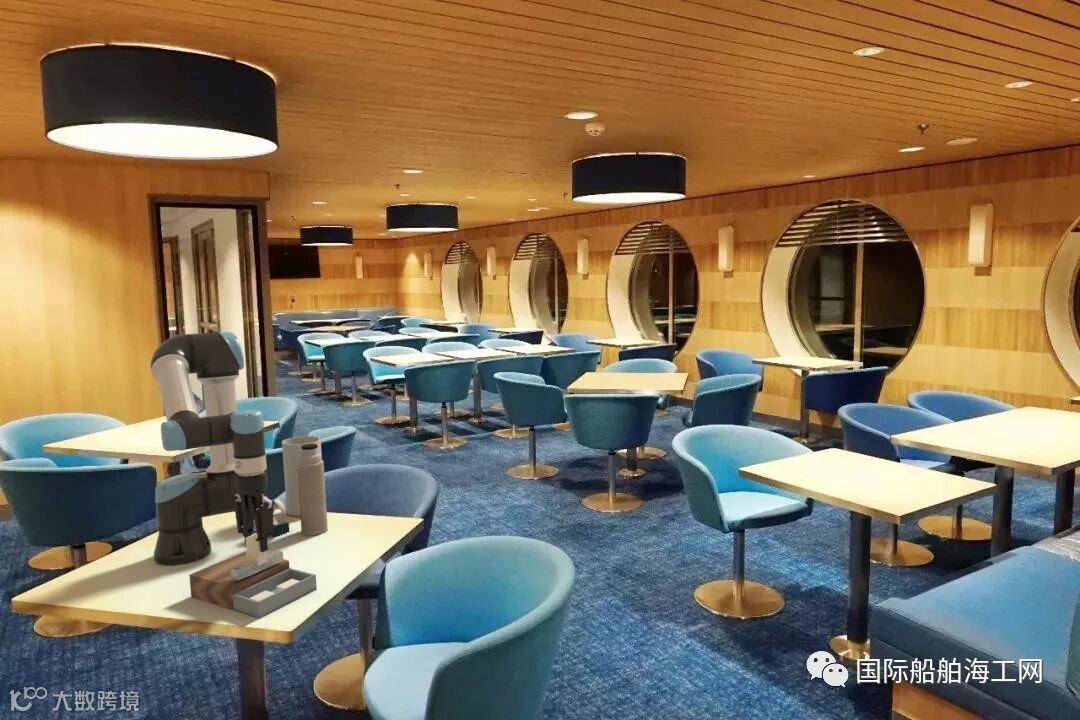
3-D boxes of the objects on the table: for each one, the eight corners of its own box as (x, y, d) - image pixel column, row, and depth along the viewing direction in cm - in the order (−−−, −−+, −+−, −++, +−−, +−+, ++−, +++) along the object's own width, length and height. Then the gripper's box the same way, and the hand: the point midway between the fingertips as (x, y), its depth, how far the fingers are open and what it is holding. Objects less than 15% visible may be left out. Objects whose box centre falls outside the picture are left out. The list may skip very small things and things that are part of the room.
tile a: (263, 602, 179) (263, 610, 180) (279, 594, 184) (280, 601, 184) (249, 598, 182) (249, 606, 182) (265, 590, 186) (266, 598, 186)
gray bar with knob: (230, 578, 184) (228, 551, 183) (276, 558, 196) (274, 533, 195) (238, 581, 182) (236, 553, 181) (284, 560, 194) (282, 535, 193)
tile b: (289, 590, 186) (290, 597, 186) (305, 582, 190) (305, 589, 190) (276, 586, 189) (276, 593, 189) (291, 578, 193) (292, 586, 193)
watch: (275, 529, 238) (273, 496, 237) (293, 533, 234) (290, 499, 233) (261, 534, 234) (258, 501, 232) (279, 538, 230) (276, 504, 228)
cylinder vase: (313, 518, 248) (308, 445, 245) (279, 516, 251) (274, 444, 248) (331, 506, 260) (327, 436, 257) (298, 504, 263) (294, 435, 260)
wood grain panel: (191, 597, 189) (189, 574, 189) (250, 571, 205) (248, 550, 204) (232, 610, 181) (230, 586, 181) (290, 582, 197) (289, 560, 196)
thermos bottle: (297, 535, 232) (291, 448, 228) (306, 527, 240) (301, 442, 236) (323, 535, 231) (317, 447, 228) (331, 526, 239) (325, 441, 236)
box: (233, 610, 181) (232, 594, 181) (291, 582, 197) (290, 568, 196) (259, 618, 177) (258, 602, 176) (316, 589, 192) (315, 574, 192)
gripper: (216, 472, 187) (224, 561, 189) (260, 479, 178) (267, 573, 181) (242, 464, 193) (248, 551, 196) (285, 472, 185) (291, 562, 188)
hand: (257, 561), depth 189 cm, fingers closed on gray bar with knob, 3 cm apart
